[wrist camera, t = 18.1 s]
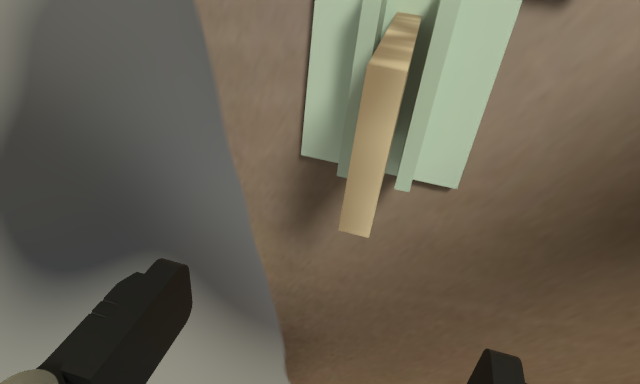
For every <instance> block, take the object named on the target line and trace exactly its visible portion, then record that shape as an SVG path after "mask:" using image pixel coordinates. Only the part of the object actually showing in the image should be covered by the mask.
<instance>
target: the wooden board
mask: <svg viewBox="0 0 640 384" xmlns="http://www.w3.org/2000/svg"><path fill="white" fill-rule="evenodd" d="M421 18H422V16H420V15H414V14H408V13H402V12H397V13H396V15H395V17H394V19H393V21H392V22H391V24H390V26H389V28H388V29H387V31H386V33H385V35H384V36H383V38H382V40H381V42H380V44H379V45H378V47H377V49H376V51H375V52H374V54H373V56H372V58H371V59H370V61H369V63H368V65H367V69H366V75H365V80H364V86H363V92H362V97H361V103H360V109H359V115H358V120H357V126H356V132H355V137H354V143H353V149H352V155H351V160H350V166H349V172H348V177H347V183H346V189H345V195H344V200H343V206H342V212H341V217H340V223H339V229H338V230H339V231H343V232H347V233H351V234H355V235H359V236H363V237H367V238H369V235H370V231H371V227H372V223H373V219H374V215H375V211H376V207H377V203H378V199H379V194H380V190H381V186H382V182H383V178H384V174H385V170H386V166H387V162H388V158H389V154H390V150H391V146H392V142H393V138H394V134H395V129H396V125H397V121H398V117H399V112H400V108H401V104H402V99H403V95H404V91H405V87H406V82H407V78H408V74H409V69H410V65H411V61H412V57H413V52H414V48H415V44H416V39H417V35H418V31H419V27H420V22H421Z"/></svg>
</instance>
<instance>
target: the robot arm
mask: <svg viewBox="0 0 640 384" xmlns="http://www.w3.org/2000/svg"><path fill="white" fill-rule="evenodd" d="M191 308H192V293H191V284H190V274H189V268H188V266H187V265H185V264H181V263H177V262H174V261H170V260H166V259H163V258H161V259H158V260H157V261H156V262H155V263H154V264H153V265H152V266H151V267H150V268H149V269H148V270H147V272H146V273H145V274H143V273H139V272H136V273H134V274H132V275H131V276H129V277H127V278H126V279H124V280H122V281H120V282H119V283H117V285H116V286H115V287H114V288H113V289H112V290H111V291H110V292H109V293H108V294H107V295H106V296H105V297H104V300H103V301H101V302H100V303H99V304H98V305H97V306H96V307H95V308H94V309H93V310H92V313H91V314H89V315H88V316H87V317H86V318H85V319H84V320H83V321H82V322H81V323H80V324H79V325H78V326H77V327H76V329H75V330H74V331H73V332H72V333H71V334H70V335H69V336H68V337H67V338H66V339H65V340H64V341H63V342H62V344H60V346H59V347H58V348H57V349H56V350H55V351H54V352H53V353H52V354H51V355H50V356H49V357H48V358H47V359H46V360H45V362H43V363H42V364H41V365H40V366H39V367H38V368H36V369H34V370H27V371H24V372H20V373H17V374H15V375H13V376H11V377H9V378H7V379H6V380H4V381H3V382H1V383H0V384H146V382H147V381H148V379H149V378H150V376H151V375H152V373H153V372H154V370H155V369H156V367H157V366H158V364H159V363H160V361H161V360H162V358H163V357H164V355H165V354H166V352H167V351H168V349H169V348H170V346H171V345H172V343H173V342H174V340H175V339H176V337H177V336H178V334H179V333H180V331H181V330H182V328H183V327H184V325H185V324H186V322H187V320H188V318H189V316H190V313H191ZM467 384H526V383H525V380H524V374H523V368H522V363H521V360H520V359H519V358H518V357H516V356H512V355H508V354H505V353H501V352H498V351H494V350H490V349H485V350H484V352H483V353H482V355H481V357H480V359H479V361H478V363H477V365H476V367H475V369H474V371H473V373H472V375H471V377H470V378H469V380H468V383H467Z"/></svg>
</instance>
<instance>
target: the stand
mask: <svg viewBox="0 0 640 384" xmlns="http://www.w3.org/2000/svg"><path fill="white" fill-rule="evenodd" d="M521 3H522V0H315V5H314V16H313V27H312V38H311V49H310V60H309V71H308V82H307V93H306V104H305V115H304V126H303V137H302V148H301V155H303V156H308V157H312V158H317V159H321V160H326V161H330V162H335V163H338V169H337V176H339V177H343V178H347V177H348V172H349V166H350V160H351V155H352V149H353V143H354V137H355V132H356V126H357V120H358V115H359V109H360V103H361V97H362V92H363V86H364V80H365V75H366V69H367V65H368V63H369V61H370V59H371V58H372V56H373V54H374V52H375V51H376V49H377V47H378V45H379V44H380V42H381V40H382V38H383V36H384V35H385V33H386V31H387V29H388V28H389V26H390V24H391V22H392V21H393V19H394V17H395V15H396V13H397V12H402V13H408V14H414V15H420V16H422V18H421V22H420V27H419V31H418V35H417V39H416V44H415V48H414V52H413V57H412V61H411V65H410V69H409V74H408V78H407V82H406V87H405V91H404V95H403V99H402V104H401V108H400V112H399V117H398V121H397V125H396V129H395V134H394V138H393V142H392V146H391V150H390V154H389V158H388V162H387V166H386V170H385V174H390V175H394V176H397V178H396V183H395V188H394V189H397V190H401V191H406V192H409V191H410V187H411V184H412V180H417V181H422V182H426V183H431V184H435V185H440V186H444V187H449V188H454V189H457V187H458V184H459V182H460V179H461V176H462V173H463V170H464V167H465V164H466V161H467V159H468V156H469V153H470V150H471V147H472V144H473V141H474V138H475V136H476V133H477V130H478V127H479V124H480V121H481V118H482V115H483V113H484V110H485V107H486V104H487V101H488V98H489V95H490V92H491V90H492V87H493V84H494V81H495V78H496V75H497V72H498V69H499V67H500V64H501V61H502V58H503V55H504V52H505V49H506V46H507V44H508V41H509V38H510V35H511V32H512V29H513V26H514V23H515V21H516V18H517V15H518V12H519V9H520V6H521Z"/></svg>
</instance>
